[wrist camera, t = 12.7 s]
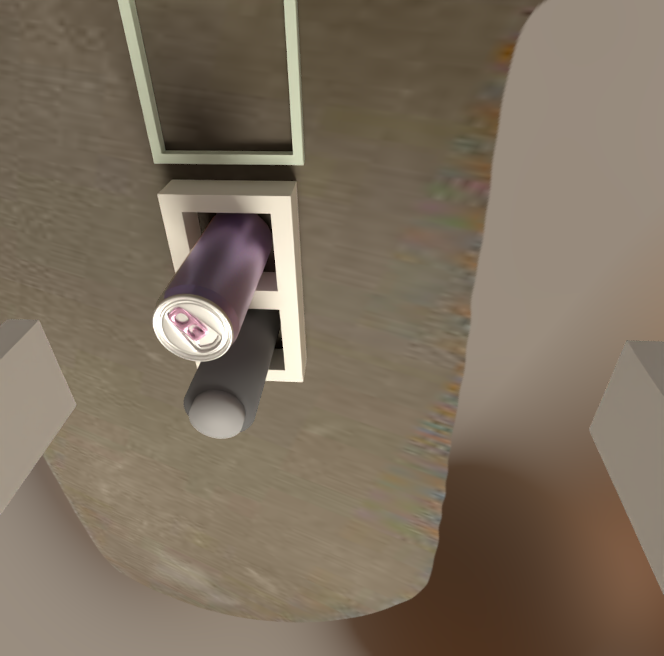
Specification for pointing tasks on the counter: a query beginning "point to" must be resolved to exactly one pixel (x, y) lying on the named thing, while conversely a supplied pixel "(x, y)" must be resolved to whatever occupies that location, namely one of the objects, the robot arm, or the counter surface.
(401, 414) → the counter surface
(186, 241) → the white divided tray
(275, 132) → the counter surface
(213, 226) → the beverage can
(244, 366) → the single round plug
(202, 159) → the rectangular frame
